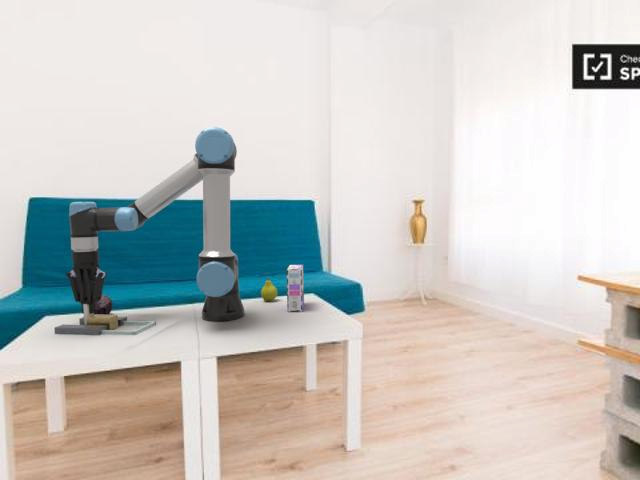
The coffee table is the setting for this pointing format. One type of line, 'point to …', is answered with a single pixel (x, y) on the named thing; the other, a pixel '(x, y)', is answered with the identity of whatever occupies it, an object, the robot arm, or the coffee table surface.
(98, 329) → the rail
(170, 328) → the coffee table surface
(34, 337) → the coffee table surface
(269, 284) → the fruit
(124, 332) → the tray
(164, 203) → the robot arm
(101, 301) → the rock
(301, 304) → the candy box
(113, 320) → the brass block
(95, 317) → the brass block
